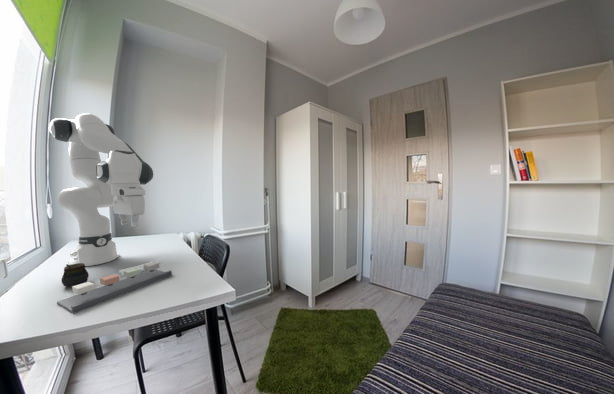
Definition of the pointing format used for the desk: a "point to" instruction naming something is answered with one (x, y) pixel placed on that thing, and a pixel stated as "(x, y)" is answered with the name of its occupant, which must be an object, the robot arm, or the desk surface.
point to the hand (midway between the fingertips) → (129, 225)
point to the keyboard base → (111, 291)
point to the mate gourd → (74, 275)
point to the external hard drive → (133, 267)
